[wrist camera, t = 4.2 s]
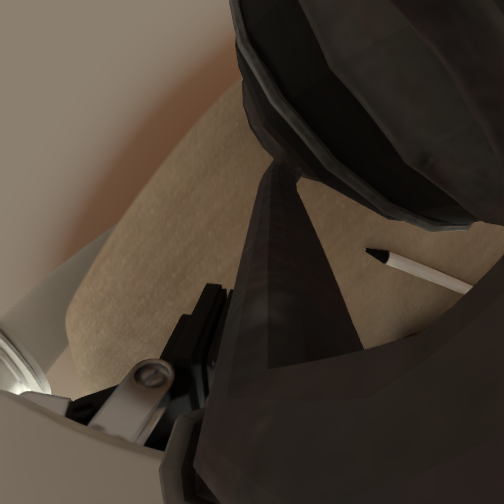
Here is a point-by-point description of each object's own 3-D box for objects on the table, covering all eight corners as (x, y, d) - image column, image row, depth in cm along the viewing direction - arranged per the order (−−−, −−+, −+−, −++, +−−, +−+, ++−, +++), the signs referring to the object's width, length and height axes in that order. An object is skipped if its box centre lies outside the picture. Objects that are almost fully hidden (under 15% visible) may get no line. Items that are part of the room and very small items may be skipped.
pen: (516, 314, 19) (521, 321, 18) (358, 252, 18) (362, 259, 17) (521, 307, 18) (526, 313, 17) (364, 239, 18) (369, 246, 17)
